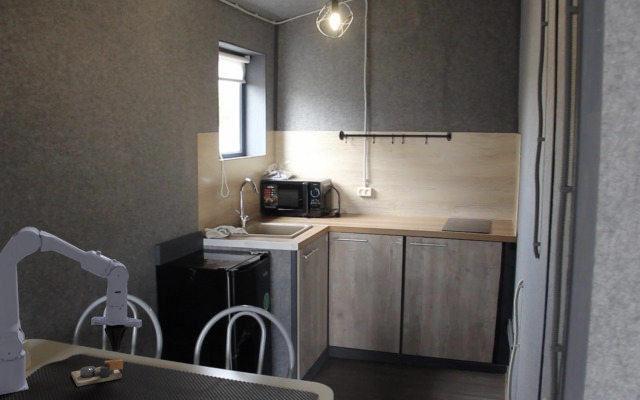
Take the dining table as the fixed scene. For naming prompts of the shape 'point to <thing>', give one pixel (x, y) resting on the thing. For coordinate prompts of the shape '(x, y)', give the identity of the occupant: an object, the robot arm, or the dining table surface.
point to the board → (94, 377)
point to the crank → (91, 371)
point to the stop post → (104, 372)
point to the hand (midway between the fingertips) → (116, 349)
